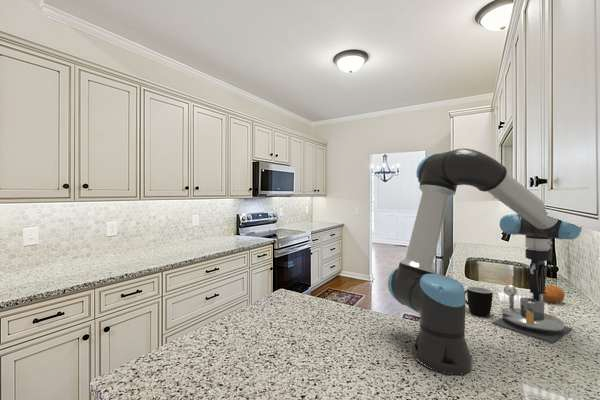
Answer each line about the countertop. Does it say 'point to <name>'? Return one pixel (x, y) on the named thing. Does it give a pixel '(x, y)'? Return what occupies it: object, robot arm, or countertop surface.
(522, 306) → the cover
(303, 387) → the countertop surface
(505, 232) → the robot arm
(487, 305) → the mug
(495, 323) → the turntable base
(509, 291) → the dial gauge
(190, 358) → the countertop surface
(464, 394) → the countertop surface
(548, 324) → the turntable
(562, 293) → the potato
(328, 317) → the countertop surface
